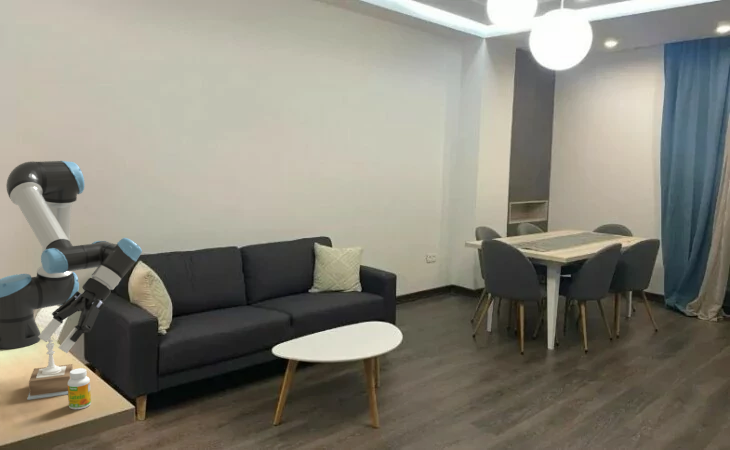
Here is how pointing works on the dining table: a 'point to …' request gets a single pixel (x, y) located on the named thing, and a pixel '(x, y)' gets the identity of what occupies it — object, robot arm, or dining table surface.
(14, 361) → the dining table surface
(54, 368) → the chess piece
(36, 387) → the walnut plinth
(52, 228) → the robot arm
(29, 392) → the pale blue board
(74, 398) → the supplement bottle
